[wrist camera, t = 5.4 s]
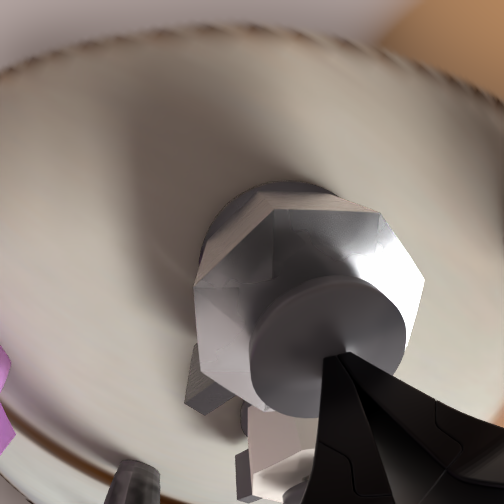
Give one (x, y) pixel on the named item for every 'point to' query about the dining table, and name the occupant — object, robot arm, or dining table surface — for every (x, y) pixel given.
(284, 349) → the steel plunger
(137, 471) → the beverage cup
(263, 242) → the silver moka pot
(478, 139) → the dining table surface
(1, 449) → the teakettle
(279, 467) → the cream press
